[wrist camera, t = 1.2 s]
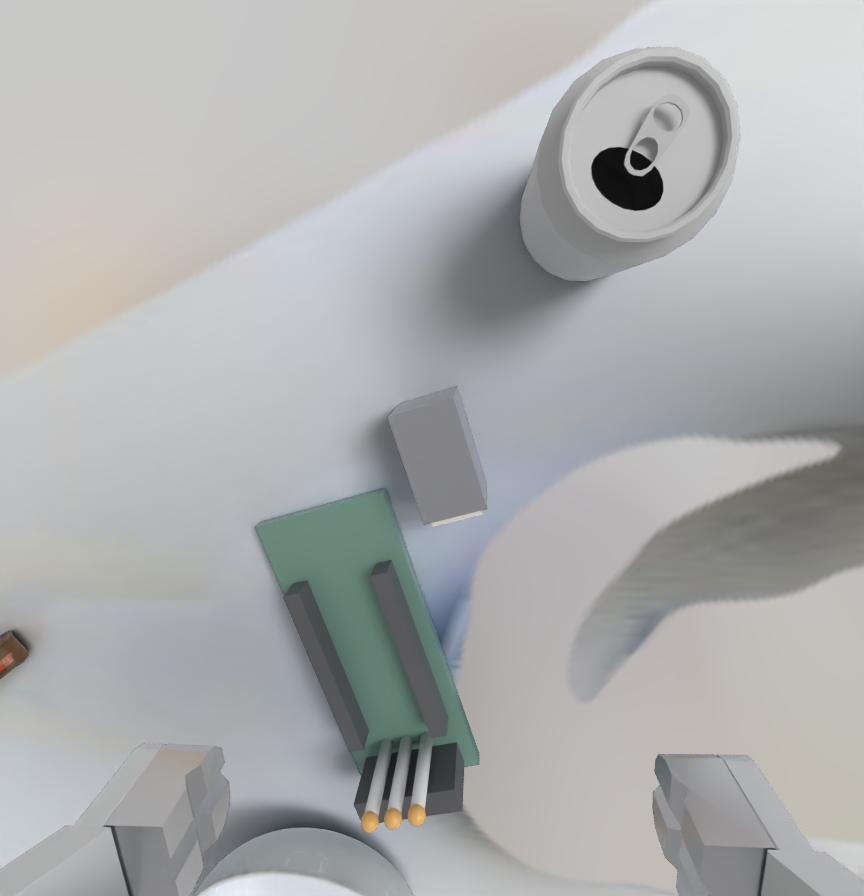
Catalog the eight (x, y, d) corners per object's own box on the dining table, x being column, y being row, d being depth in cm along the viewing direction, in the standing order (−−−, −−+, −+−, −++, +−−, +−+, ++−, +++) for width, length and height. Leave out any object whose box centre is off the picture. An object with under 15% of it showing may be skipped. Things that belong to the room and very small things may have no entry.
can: (494, 242, 29) (502, 192, 18) (565, 118, 27) (625, -29, 16) (598, 306, 30) (671, 298, 18) (675, 188, 28) (813, 95, 16)
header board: (385, 487, 34) (357, 536, 27) (479, 753, 39) (478, 857, 32) (261, 521, 36) (201, 575, 28) (366, 771, 41) (340, 874, 34)
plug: (457, 385, 32) (453, 397, 27) (487, 486, 34) (489, 515, 29) (401, 402, 33) (387, 417, 28) (433, 500, 34) (425, 530, 29)
